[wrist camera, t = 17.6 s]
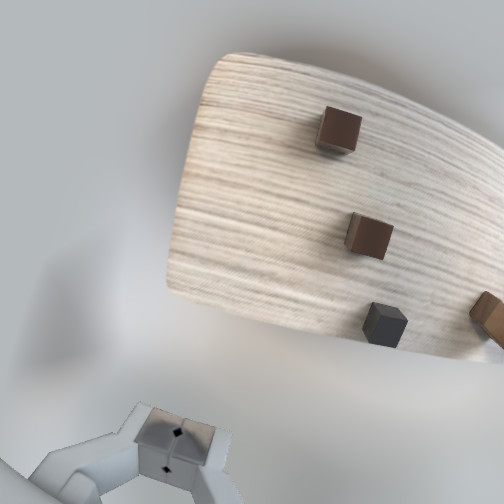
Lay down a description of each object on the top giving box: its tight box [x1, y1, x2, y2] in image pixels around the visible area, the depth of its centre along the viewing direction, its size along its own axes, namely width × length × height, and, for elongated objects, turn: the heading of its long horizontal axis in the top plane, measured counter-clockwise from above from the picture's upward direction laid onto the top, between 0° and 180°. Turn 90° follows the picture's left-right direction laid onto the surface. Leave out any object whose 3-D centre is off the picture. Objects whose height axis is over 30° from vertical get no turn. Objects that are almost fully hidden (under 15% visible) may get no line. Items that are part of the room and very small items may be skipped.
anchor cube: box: [362, 302, 408, 348], centre depth 35 cm, size 4×4×4 cm
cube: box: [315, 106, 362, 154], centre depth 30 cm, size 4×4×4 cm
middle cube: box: [344, 212, 394, 260], centre depth 32 cm, size 4×4×4 cm
